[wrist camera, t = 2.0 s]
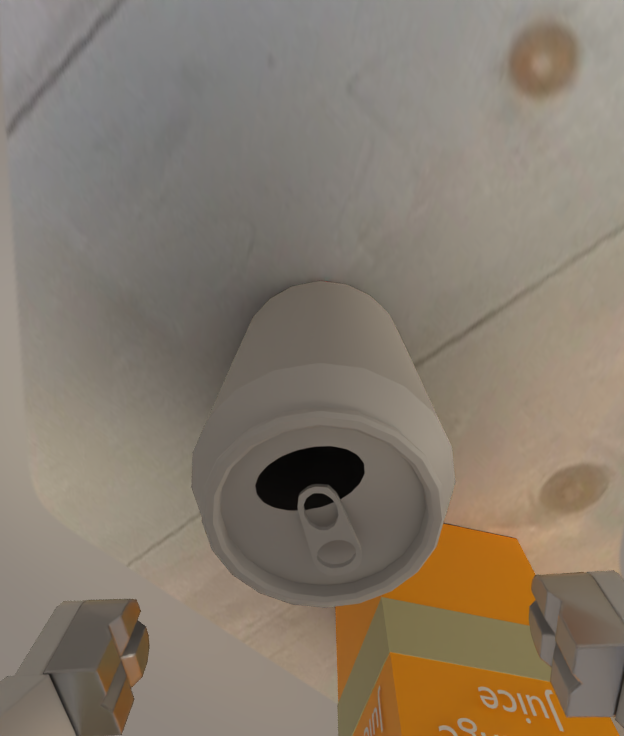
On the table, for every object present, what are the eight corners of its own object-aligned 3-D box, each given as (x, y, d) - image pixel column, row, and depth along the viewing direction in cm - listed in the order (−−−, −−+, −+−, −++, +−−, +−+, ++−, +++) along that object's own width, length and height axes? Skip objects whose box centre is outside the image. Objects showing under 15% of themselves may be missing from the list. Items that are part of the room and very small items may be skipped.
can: (373, 252, 21) (429, 347, 10) (418, 396, 24) (501, 595, 13) (218, 308, 22) (118, 448, 11) (278, 440, 25) (244, 657, 14)
